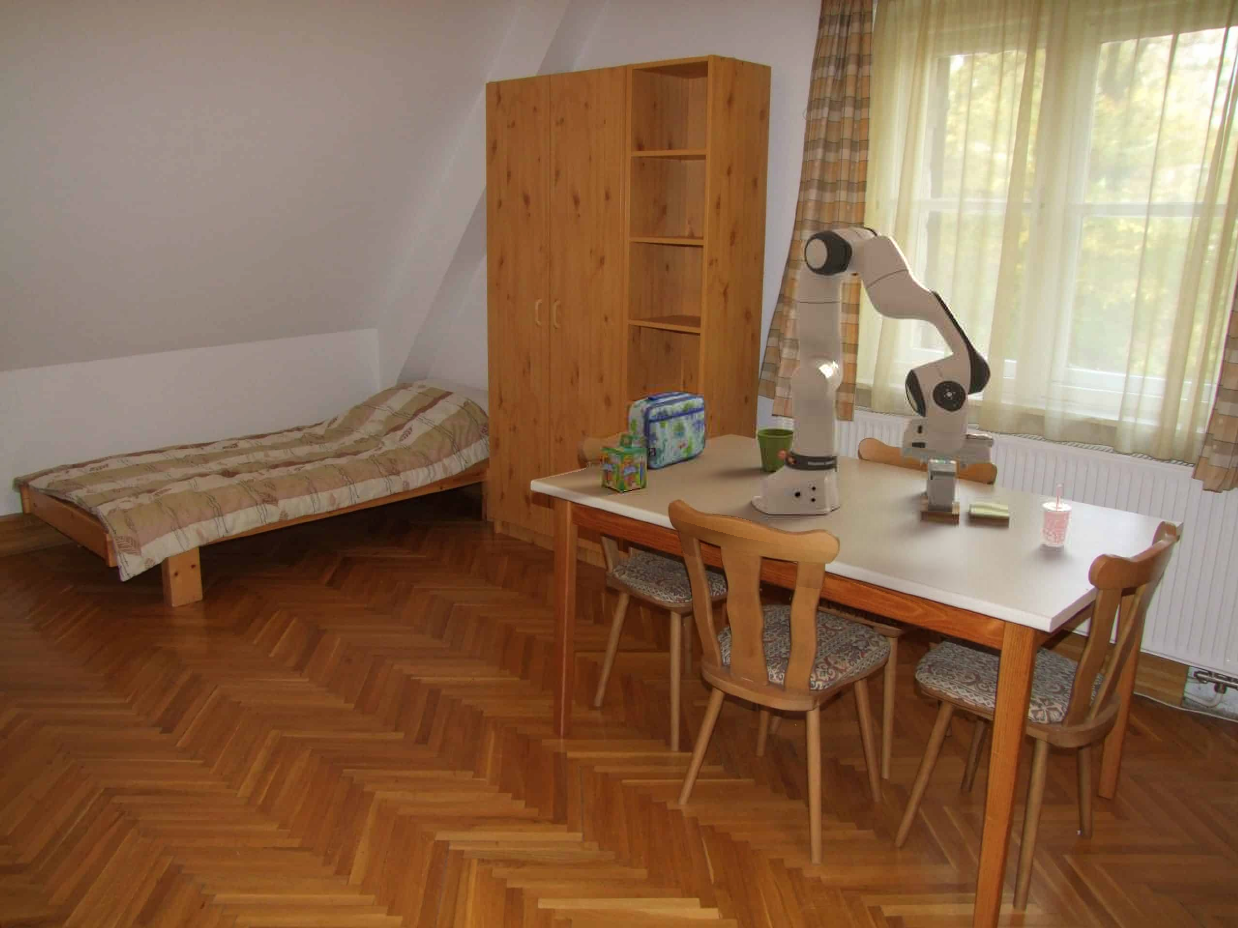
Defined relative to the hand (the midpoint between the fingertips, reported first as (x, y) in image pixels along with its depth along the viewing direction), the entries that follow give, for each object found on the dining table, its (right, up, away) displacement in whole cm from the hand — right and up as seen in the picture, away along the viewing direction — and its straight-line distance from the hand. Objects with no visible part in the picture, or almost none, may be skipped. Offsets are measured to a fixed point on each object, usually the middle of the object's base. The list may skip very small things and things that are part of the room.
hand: (944, 464), depth 248 cm
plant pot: (-32, -2, +58) cm, 66 cm away
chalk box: (-76, -6, +41) cm, 87 cm away
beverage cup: (+23, -18, -8) cm, 30 cm away
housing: (+3, -11, +12) cm, 17 cm away
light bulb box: (+8, -9, +30) cm, 32 cm away
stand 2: (+15, -13, +11) cm, 23 cm away
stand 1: (+3, -13, +13) cm, 19 cm away
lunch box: (-63, +1, +67) cm, 92 cm away
